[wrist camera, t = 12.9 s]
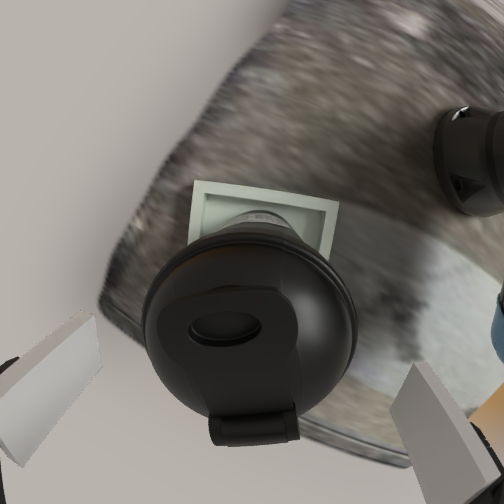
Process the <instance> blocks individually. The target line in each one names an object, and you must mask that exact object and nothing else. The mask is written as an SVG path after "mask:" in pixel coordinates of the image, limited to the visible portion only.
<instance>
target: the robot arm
mask: <svg viewBox="0 0 504 504" xmlns="http://www.w3.org/2000/svg"><path fill="white" fill-rule="evenodd" d="M434 161H435V167H436V172H437V175H438V179H439V181H440V184H441V186H442V189H443V191H444V192H445V194H446V196H447V197H448V199H449V200H450V201H451V203H452V204H453V205H454V206H455V207H456V208H457V209H459V210H460V211H462V212H463V213H465V214H468V215H472V216H477V217H489V216H493V215H496V214H499V213H503V212H504V111H502V112H495V111H491V110H487V109H482V108H478V107H473V106H465V107H460V108H457V109H454V110H452V111H450V112H448V113H447V114H446V115H445V116H444V117H443V118H442V120H441V121H440V123H439V125H438V127H437V130H436V134H435V139H434ZM491 340H492V344H493V347H494V349H495V350H496V353H497V355H498V357H499V358H500V360H501V361H502V362H503V364H504V281H503V285H502V289H501V292H500V293H499V294H498V297H497V307H496V311H495V315H494V319H493V322H492V327H491ZM101 368H102V363H101V357H100V351H99V344H98V337H97V329H96V321H95V315H93V314H90V313H87V312H84V311H80V312H78V313H77V314H75V315H74V316H73V317H71V318H70V319H69V320H68V321H66V322H65V323H64V324H62V325H61V326H60V327H58V328H57V329H56V330H55V331H53V332H52V333H51V334H49V335H48V336H47V337H45V338H44V339H43V340H42V341H40V342H39V343H38V344H37V345H35V347H33V348H32V349H30V350H29V351H28V352H27V353H26V354H24V355H23V356H22V357H21V358H19V357H15V358H13V359H11V360H8V361H6V362H5V363H4V364H2V365H1V366H0V447H1V448H2V450H3V451H4V452H5V454H6V455H7V457H9V458H10V459H11V460H13V461H14V462H15V463H16V464H18V465H19V466H20V467H22V468H23V467H24V465H25V464H26V463H27V461H28V460H29V459H30V457H31V456H32V455H33V453H34V452H35V451H36V449H37V448H38V447H39V445H40V444H41V443H42V442H43V440H44V439H45V438H46V436H47V435H48V434H49V432H50V431H51V430H52V429H53V427H54V426H55V425H56V424H57V422H58V421H59V420H60V418H61V417H62V416H63V415H64V413H65V412H66V411H67V410H68V408H69V407H70V406H71V405H72V403H73V402H74V401H75V399H77V397H78V396H79V395H80V394H81V392H82V391H83V390H84V389H85V388H86V386H87V385H88V384H89V383H90V381H91V380H92V379H93V378H94V377H95V376H96V374H97V373H98V372H99V371H100V370H101ZM389 411H390V413H391V415H392V418H393V420H394V422H395V424H396V427H397V429H398V431H399V434H400V436H401V439H402V441H403V443H404V446H405V448H406V451H407V453H408V456H409V458H410V461H411V463H412V466H413V469H414V471H415V474H416V476H417V479H418V482H419V484H420V487H421V490H422V492H423V495H424V498H425V501H426V504H504V467H503V466H502V464H501V462H500V461H499V459H498V457H497V455H496V454H495V452H494V451H493V449H492V447H491V448H490V444H489V443H488V441H487V440H485V439H486V438H485V436H484V435H483V433H482V432H481V430H480V429H479V428H478V427H476V426H475V425H474V424H473V423H472V422H469V421H468V419H467V418H466V416H465V415H464V413H463V412H462V410H461V409H460V407H459V406H458V405H457V403H456V402H455V400H454V399H453V397H452V396H451V394H450V393H449V392H448V390H447V389H446V387H445V386H444V385H443V383H442V382H441V380H440V379H439V378H438V376H437V375H436V374H435V372H434V371H433V370H432V368H431V367H430V366H429V364H428V363H427V362H422V363H413V365H412V367H411V369H410V371H409V373H408V375H407V377H406V379H405V381H404V383H403V385H402V387H401V389H400V391H399V393H398V395H397V397H396V399H395V400H394V402H393V404H392V406H391V408H390V409H389ZM0 504H6V501H5V495H4V489H3V482H2V473H1V463H0Z"/></svg>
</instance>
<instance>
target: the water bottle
mask: <svg viewBox="0 0 504 504" xmlns="http://www.w3.org/2000/svg"><path fill="white" fill-rule="evenodd" d="M141 326H142V336H143V341H144V345H145V348H146V351H147V354H148V356H149V358H150V360H151V362H152V365H153V367H154V369H155V371H156V373H157V375H158V376H159V378H160V380H161V381H162V382H163V384H164V385H165V386H166V387H167V389H168V390H169V391H170V392H171V393H172V394H173V395H174V396H175V397H176V398H177V399H178V400H180V401H181V402H182V403H183V404H184V405H186V406H188V407H189V408H190V409H192V410H194V411H195V412H197V413H199V414H201V415H203V416H205V417H208V418H209V420H208V423H209V424H208V425H209V433H210V437H211V440H212V442H213V444H214V445H216V446H228V447H239V446H257V445H269V444H278V443H287V442H288V441H292V440H300V431H299V422H298V416H300V415H302V414H304V413H305V412H306V411H308V410H310V409H311V408H313V407H314V406H316V405H317V404H318V403H319V402H321V401H322V400H323V399H324V398H325V397H326V396H327V395H328V394H329V393H330V392H331V391H332V389H333V388H334V387H335V386H336V384H337V383H338V382H339V381H340V379H341V378H342V377H343V375H344V374H345V372H346V371H347V369H348V367H349V365H350V363H351V361H352V358H353V355H354V352H355V348H356V344H357V337H358V322H357V315H356V310H355V306H354V303H353V300H352V297H351V295H350V293H349V291H348V289H347V287H346V285H345V284H344V282H343V281H342V279H341V278H340V276H339V275H338V274H337V272H336V271H335V270H334V268H333V267H332V266H331V264H330V263H329V262H328V261H327V260H326V259H325V258H324V257H323V256H322V255H321V254H320V253H319V252H317V251H316V250H315V249H314V248H312V247H311V246H309V245H308V244H306V243H304V241H303V240H302V239H301V238H300V236H299V235H298V234H297V233H296V232H295V230H294V229H293V228H292V227H291V225H290V224H289V223H288V222H287V221H286V220H285V219H284V218H283V217H281V216H280V215H278V214H276V213H274V212H271V211H267V210H252V211H248V212H245V213H243V214H241V215H239V216H237V217H236V218H235V219H233V220H232V221H230V223H227V225H225V226H223V227H222V229H219V230H218V231H216V232H213V233H210V234H208V235H205V236H203V237H201V238H199V239H197V240H195V241H193V242H192V243H190V244H189V245H187V246H186V247H185V248H183V249H182V250H181V251H180V252H178V253H177V254H176V255H175V256H173V257H172V258H171V259H170V260H169V262H168V263H167V264H166V265H165V266H164V267H163V268H162V269H161V270H160V272H159V273H158V274H157V276H156V277H155V279H154V281H153V282H152V284H151V286H150V288H149V290H148V292H147V295H146V298H145V301H144V305H143V310H142V319H141Z"/></svg>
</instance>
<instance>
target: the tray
mask: <svg viewBox="0 0 504 504" xmlns="http://www.w3.org/2000/svg"><path fill="white" fill-rule="evenodd" d="M339 203H340V202H338V201H334V200H329V199H324V198H318V197H313V196H307V195H301V194H295V193H289V192H283V191H277V190H270V189H264V188H257V187H250V186H243V185H235V184H227V183H219V182H211V181H202V180H194V188H193V197H192V205H191V214H190V224H189V234H188V245H189V244H190V243H192V242H193V241H195V240H197V239H199V238H201V237H203V236H205V235H208V234H210V233H213V232H216V231H218V230H219V229H222V227H223V226H225V225H227V223H230V221H232V220H233V219H235V218H236V217H237V216H239V215H241V214H243V213H245V212H248V211H252V210H267V211H271V212H274V213H276V214H278V215H280V216H281V217H283V218H284V219H285V220H286V221H287V222H288V223H289V224H290V225H291V227H292V228H293V229H294V230H295V232H296V233H297V234H298V235H299V236H300V238H301V239H302V240H303V241H304V243H306V244H308V245H309V246H311V247H312V248H314V249H315V250H316V251H317V252H319V253H320V254H321V255H322V256H323V257H324V258H325V259H326V260H327V261H328V260H329V256H330V251H331V246H332V241H333V236H334V231H335V225H336V220H337V214H338V208H339Z"/></svg>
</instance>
